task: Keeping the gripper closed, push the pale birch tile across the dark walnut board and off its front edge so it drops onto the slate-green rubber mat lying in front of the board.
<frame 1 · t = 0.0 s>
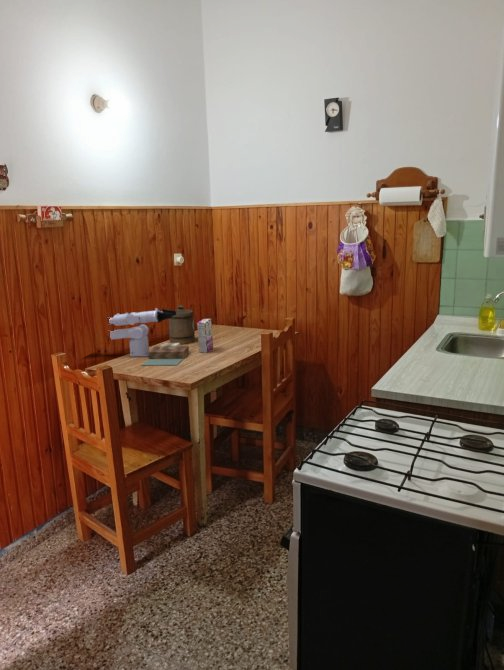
hand: (173, 313, 250), 22 cm above the table, tool horizontal, fingers open, 7 cm apart
birch tile: (169, 348, 252), point 4 cm above the table, touching walnut board
candy bar box: (206, 350, 260), on the table
wooden container: (182, 342, 284), on the table
rubber mat: (162, 362, 239), on the table
walnut board: (169, 356, 251), on the table
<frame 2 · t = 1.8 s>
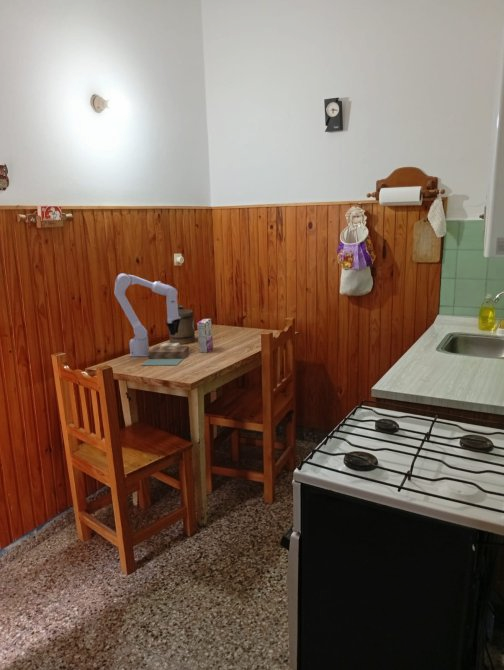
hand: (174, 333, 260), 9 cm above the table, tool pointing down, fingers open, 5 cm apart
nothing on the table moved.
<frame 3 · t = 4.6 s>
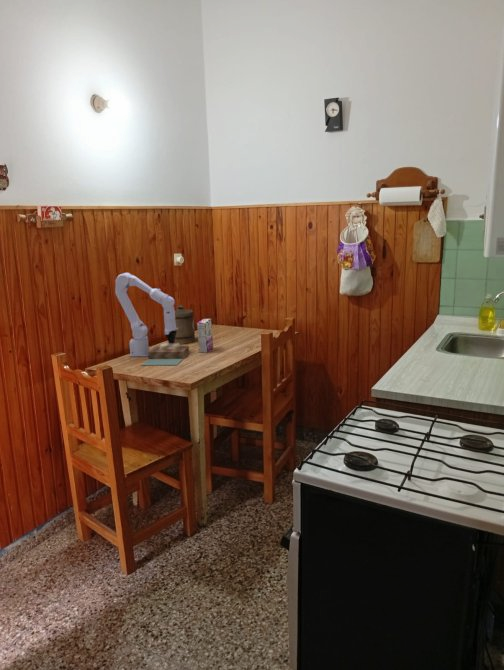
hand: (171, 345, 255), 5 cm above the table, tool pointing down, fingers closed
birch tile: (169, 348, 252), point 4 cm above the table, touching gripper
everything else where it was.
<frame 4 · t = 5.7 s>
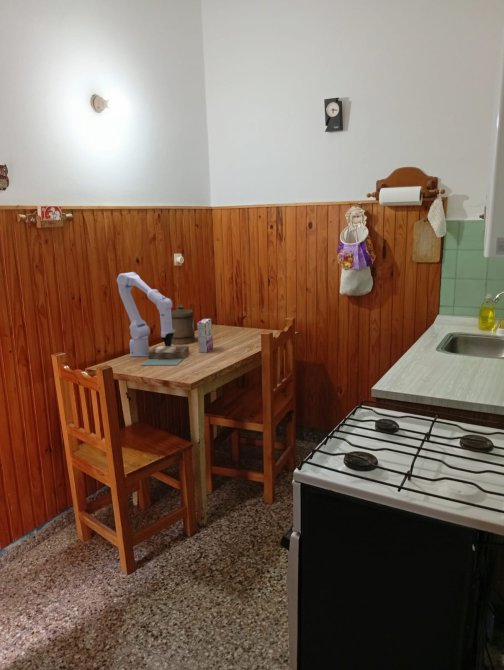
hand: (168, 347, 249), 5 cm above the table, tool pointing down, fingers closed
birch tile: (166, 351, 245), point 4 cm above the table, touching gripper
everything else where it was.
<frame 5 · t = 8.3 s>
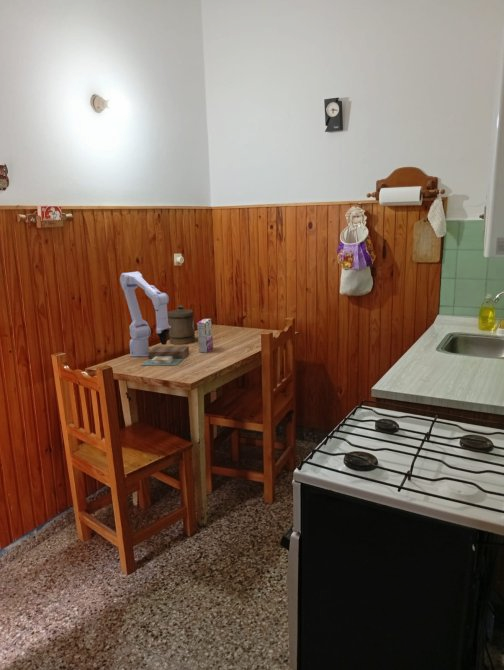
hand: (164, 344, 242), 8 cm above the table, tool pointing down, fingers closed
birch tile: (162, 358, 239), point 2 cm above the table, tilted 180°, touching rubber mat
everything else where it was.
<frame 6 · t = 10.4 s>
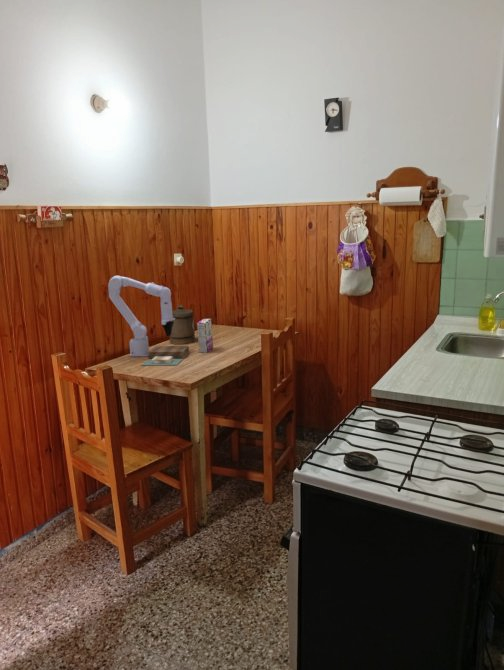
hand: (168, 335, 257), 9 cm above the table, tool pointing down, fingers closed
nothing on the table moved.
at the end: birch tile inside the target area (0.1 cm from its centre), point 2.4 cm above the table; birch tile touching rubber mat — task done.
